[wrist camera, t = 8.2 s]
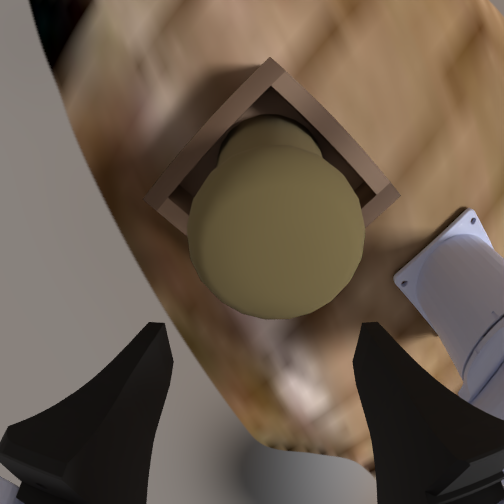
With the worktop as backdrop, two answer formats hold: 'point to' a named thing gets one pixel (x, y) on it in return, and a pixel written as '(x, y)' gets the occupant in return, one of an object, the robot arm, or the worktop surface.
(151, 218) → the worktop surface
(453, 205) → the worktop surface
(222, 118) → the holder
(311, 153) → the cork
